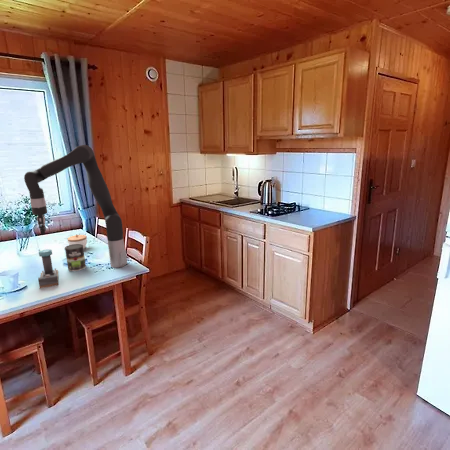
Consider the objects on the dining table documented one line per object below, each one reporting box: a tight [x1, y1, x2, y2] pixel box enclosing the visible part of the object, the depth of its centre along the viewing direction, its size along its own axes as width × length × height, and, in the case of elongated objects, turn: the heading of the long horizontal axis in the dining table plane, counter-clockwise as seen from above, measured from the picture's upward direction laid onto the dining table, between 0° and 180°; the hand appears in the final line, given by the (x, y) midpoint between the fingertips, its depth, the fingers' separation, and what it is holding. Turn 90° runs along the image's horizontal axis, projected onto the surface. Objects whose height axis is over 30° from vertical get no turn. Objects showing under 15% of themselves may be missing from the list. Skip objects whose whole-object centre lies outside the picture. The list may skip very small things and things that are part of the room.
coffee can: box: [64, 244, 87, 272], centre depth 197 cm, size 10×10×14 cm
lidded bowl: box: [67, 234, 88, 249], centre depth 231 cm, size 13×13×11 cm
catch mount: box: [38, 268, 59, 289], centre depth 182 cm, size 20×9×6 cm, turn 27°
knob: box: [38, 248, 55, 276], centre depth 185 cm, size 7×7×14 cm
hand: (43, 232), depth 190 cm, fingers open, 7 cm apart
